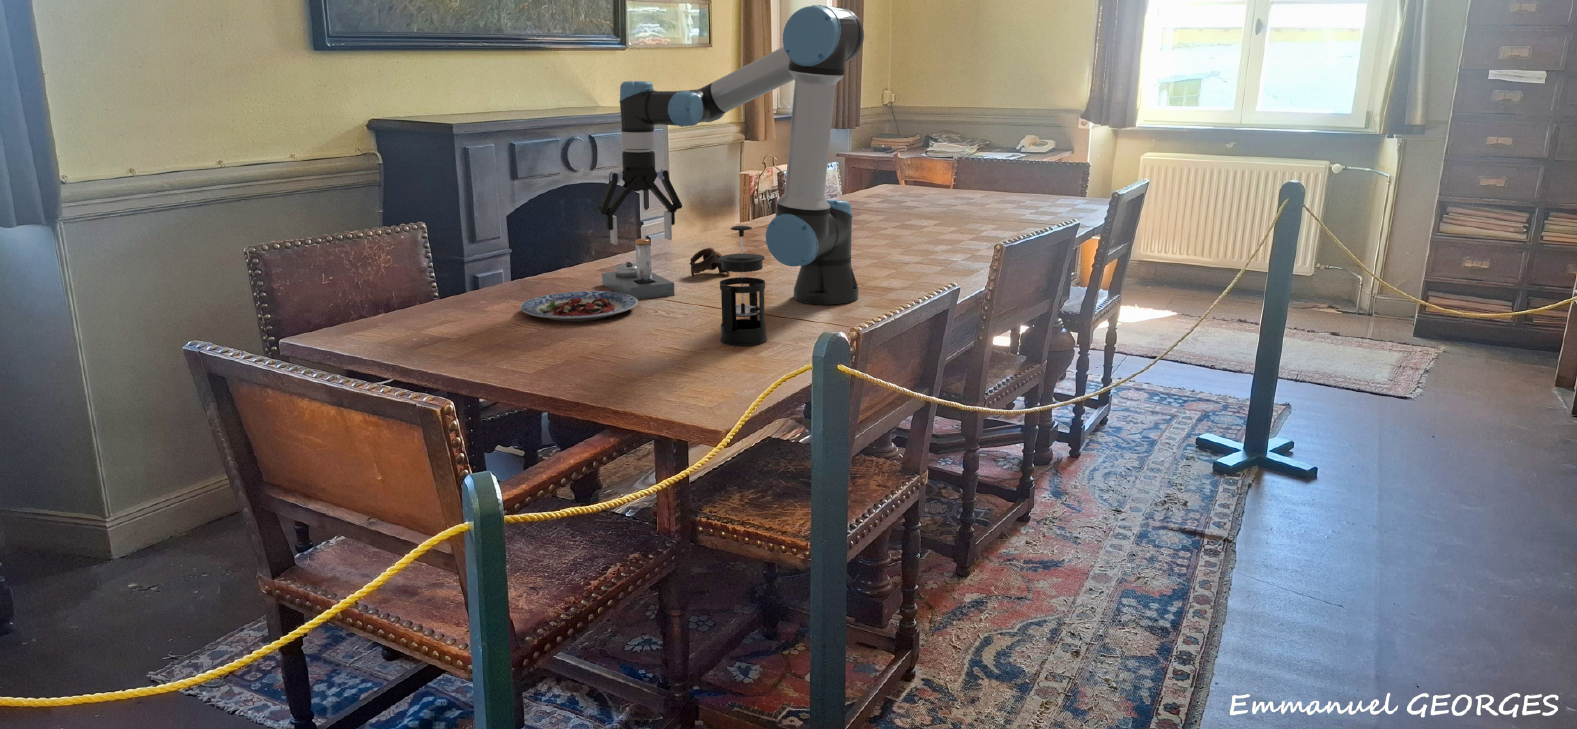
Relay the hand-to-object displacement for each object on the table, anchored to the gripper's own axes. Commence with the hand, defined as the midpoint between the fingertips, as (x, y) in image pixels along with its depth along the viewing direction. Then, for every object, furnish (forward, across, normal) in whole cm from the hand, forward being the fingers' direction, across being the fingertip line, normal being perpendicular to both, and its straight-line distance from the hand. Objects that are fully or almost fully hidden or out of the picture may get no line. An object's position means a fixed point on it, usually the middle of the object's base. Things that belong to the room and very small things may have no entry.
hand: (641, 241), depth 257 cm
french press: (+12, -1, +51) cm, 53 cm away
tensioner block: (+13, 0, -5) cm, 14 cm away
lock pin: (+13, 0, 0) cm, 13 cm away
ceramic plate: (+13, +19, +10) cm, 25 cm away
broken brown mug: (+13, -23, -12) cm, 29 cm away
